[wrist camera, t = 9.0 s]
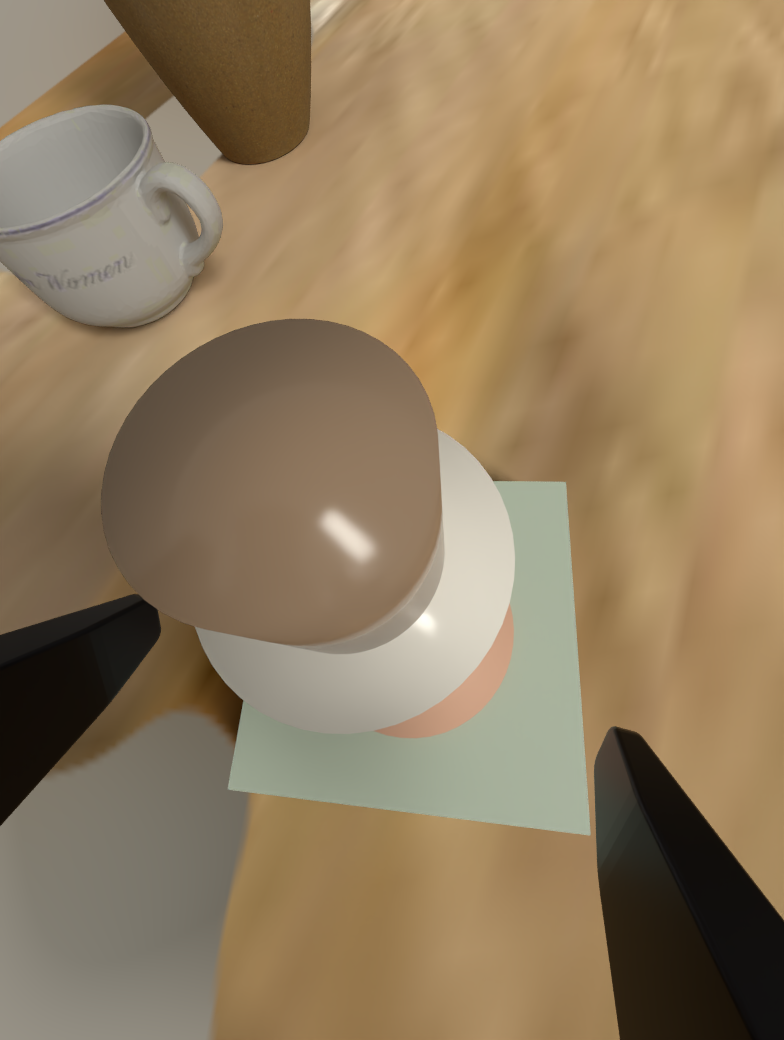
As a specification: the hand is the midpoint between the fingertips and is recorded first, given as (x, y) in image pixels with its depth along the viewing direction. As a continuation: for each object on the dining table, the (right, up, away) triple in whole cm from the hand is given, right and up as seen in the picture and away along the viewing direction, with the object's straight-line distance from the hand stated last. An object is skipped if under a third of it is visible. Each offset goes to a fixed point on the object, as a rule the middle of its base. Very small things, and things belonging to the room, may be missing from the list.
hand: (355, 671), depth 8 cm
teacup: (-14, +18, +21) cm, 31 cm away
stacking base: (+2, -2, +11) cm, 11 cm away
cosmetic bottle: (+1, -1, +8) cm, 8 cm away
